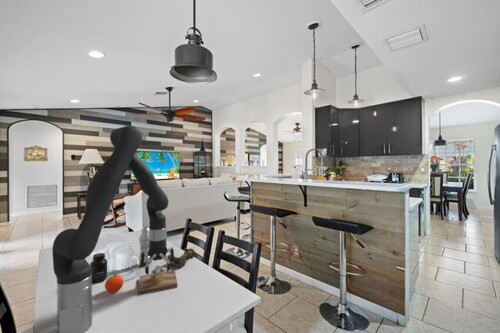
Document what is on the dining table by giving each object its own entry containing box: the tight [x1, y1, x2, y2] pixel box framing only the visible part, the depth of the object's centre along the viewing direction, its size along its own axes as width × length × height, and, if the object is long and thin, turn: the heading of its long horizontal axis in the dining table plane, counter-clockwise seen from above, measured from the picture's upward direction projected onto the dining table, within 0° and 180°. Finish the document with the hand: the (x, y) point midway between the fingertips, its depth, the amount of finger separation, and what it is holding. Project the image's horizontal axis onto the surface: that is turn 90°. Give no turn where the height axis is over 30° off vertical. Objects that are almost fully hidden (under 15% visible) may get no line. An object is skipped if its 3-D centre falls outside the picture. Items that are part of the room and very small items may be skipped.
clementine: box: [104, 274, 124, 294], centre depth 100 cm, size 8×7×7 cm
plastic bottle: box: [138, 226, 150, 266], centre depth 126 cm, size 6×7×20 cm
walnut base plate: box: [137, 269, 178, 296], centre depth 107 cm, size 14×16×2 cm
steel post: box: [153, 265, 162, 274], centre depth 107 cm, size 3×3×6 cm
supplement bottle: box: [89, 252, 108, 284], centre depth 110 cm, size 7×7×12 cm
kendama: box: [165, 248, 196, 269], centre depth 128 cm, size 6×10×20 cm
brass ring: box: [150, 267, 166, 283], centre depth 107 cm, size 6×6×4 cm
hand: (157, 272), depth 107 cm, fingers open, 8 cm apart
